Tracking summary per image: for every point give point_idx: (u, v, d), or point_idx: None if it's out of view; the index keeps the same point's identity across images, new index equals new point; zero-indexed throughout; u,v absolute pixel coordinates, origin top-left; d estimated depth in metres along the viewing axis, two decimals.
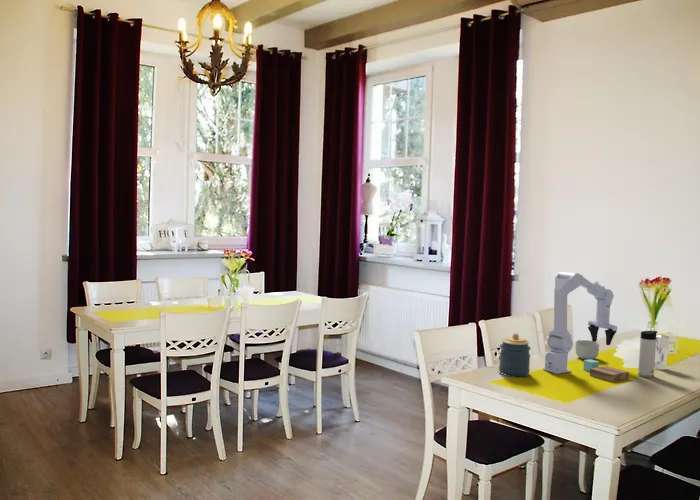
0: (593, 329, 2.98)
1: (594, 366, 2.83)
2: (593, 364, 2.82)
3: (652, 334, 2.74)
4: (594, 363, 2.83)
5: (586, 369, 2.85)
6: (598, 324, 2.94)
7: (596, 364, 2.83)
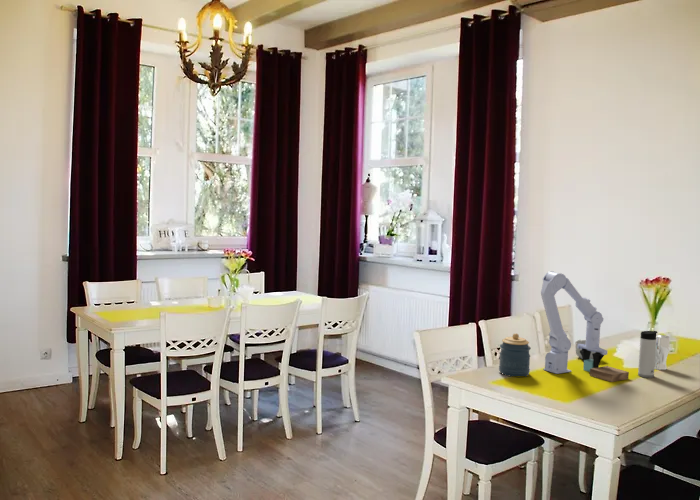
0: (585, 353, 2.86)
1: None
2: None
3: (652, 334, 2.74)
4: None
5: (586, 369, 2.85)
6: (588, 348, 2.83)
7: None
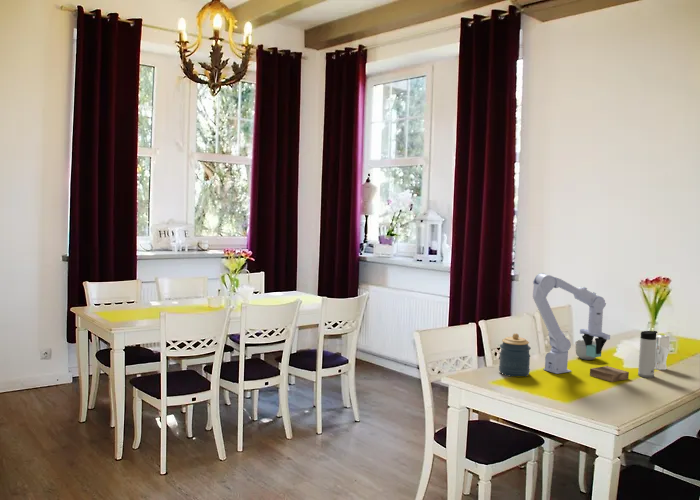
0: (587, 338, 2.85)
1: None
2: None
3: (652, 334, 2.74)
4: None
5: (589, 354, 2.83)
6: (590, 333, 2.81)
7: None
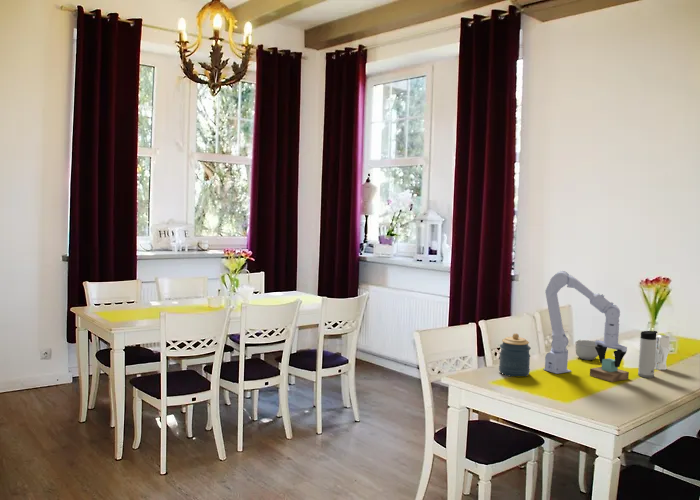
0: (601, 349, 2.76)
1: (613, 365, 2.72)
2: (612, 363, 2.72)
3: (652, 334, 2.74)
4: (613, 362, 2.72)
5: (604, 368, 2.74)
6: (606, 344, 2.72)
7: (614, 363, 2.73)
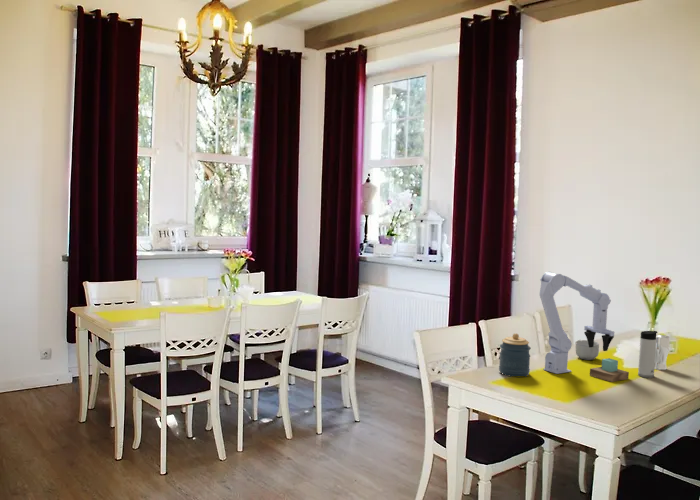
0: (590, 334, 2.89)
1: (613, 365, 2.72)
2: (612, 363, 2.72)
3: (652, 334, 2.74)
4: (613, 362, 2.72)
5: (604, 368, 2.74)
6: (595, 329, 2.84)
7: (614, 363, 2.73)
